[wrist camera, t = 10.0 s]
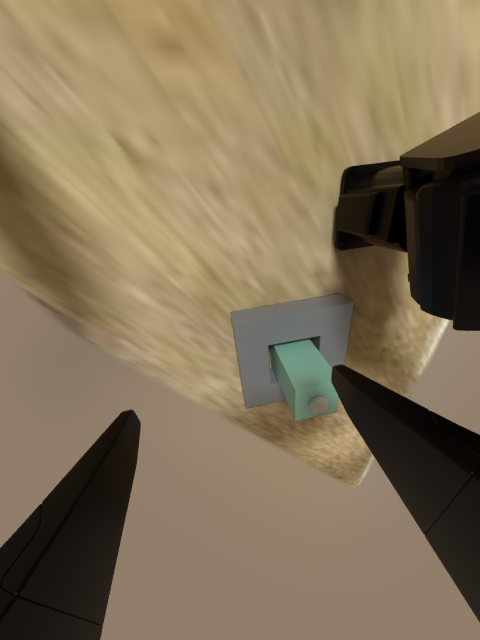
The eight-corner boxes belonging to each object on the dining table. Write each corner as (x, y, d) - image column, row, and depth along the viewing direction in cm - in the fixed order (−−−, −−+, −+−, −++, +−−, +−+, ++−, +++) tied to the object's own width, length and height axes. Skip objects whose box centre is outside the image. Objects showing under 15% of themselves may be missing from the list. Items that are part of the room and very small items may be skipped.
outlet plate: (340, 293, 23) (354, 302, 21) (329, 375, 29) (339, 389, 27) (230, 312, 22) (233, 323, 20) (242, 392, 28) (245, 408, 26)
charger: (303, 330, 25) (346, 386, 17) (302, 357, 27) (340, 417, 19) (269, 337, 25) (298, 396, 17) (270, 363, 27) (297, 427, 19)
